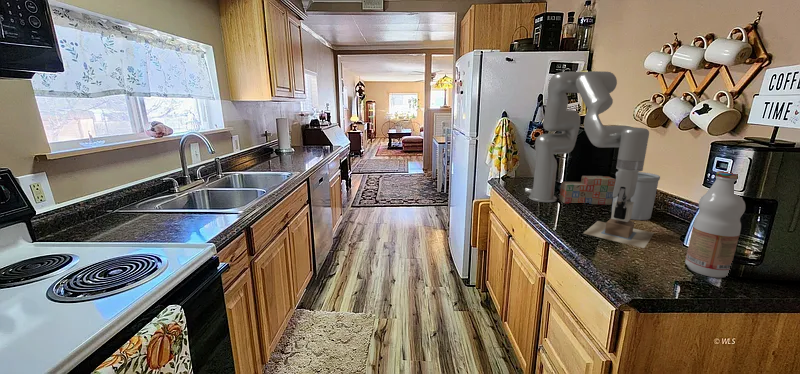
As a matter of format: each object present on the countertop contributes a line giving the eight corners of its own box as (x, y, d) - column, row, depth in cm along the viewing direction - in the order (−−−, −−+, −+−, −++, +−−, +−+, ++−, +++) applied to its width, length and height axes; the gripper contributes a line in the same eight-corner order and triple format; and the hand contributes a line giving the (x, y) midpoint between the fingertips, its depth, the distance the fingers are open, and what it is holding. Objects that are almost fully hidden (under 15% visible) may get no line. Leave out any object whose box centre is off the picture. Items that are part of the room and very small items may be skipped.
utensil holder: (611, 207, 152) (617, 169, 148) (652, 213, 144) (659, 173, 140) (608, 216, 140) (614, 174, 136) (652, 223, 132) (660, 179, 128)
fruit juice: (683, 271, 95) (705, 173, 88) (684, 259, 102) (704, 167, 95) (730, 282, 89) (757, 178, 82) (727, 269, 96) (752, 172, 89)
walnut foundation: (604, 233, 120) (606, 222, 119) (609, 227, 124) (611, 217, 123) (627, 238, 115) (629, 227, 114) (632, 232, 120) (634, 222, 119)
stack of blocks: (564, 203, 158) (567, 178, 155) (558, 200, 164) (561, 175, 161) (611, 204, 156) (615, 178, 153) (604, 201, 163) (608, 175, 160)
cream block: (610, 218, 118) (613, 202, 117) (614, 215, 122) (617, 199, 120) (627, 222, 115) (630, 205, 113) (630, 218, 118) (633, 202, 117)
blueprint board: (582, 236, 120) (582, 233, 119) (597, 223, 132) (597, 220, 132) (643, 251, 108) (644, 248, 107) (653, 235, 120) (654, 232, 120)
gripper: (622, 160, 122) (615, 208, 127) (610, 167, 110) (602, 219, 115) (648, 163, 117) (639, 213, 122) (637, 170, 105) (628, 225, 110)
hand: (621, 216), depth 118 cm, fingers closed on cream block, 5 cm apart
